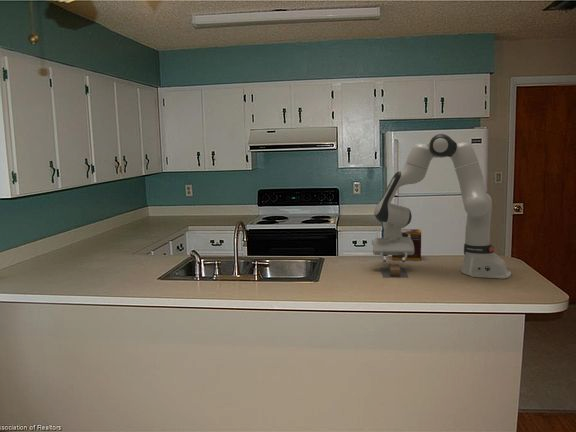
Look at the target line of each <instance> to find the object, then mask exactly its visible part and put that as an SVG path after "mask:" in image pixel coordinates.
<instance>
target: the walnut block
mask: <svg viewBox="0 0 576 432" xmlns="http://www.w3.org/2000/svg"><path fill="white" fill-rule="evenodd" d="M388 267H389V273H390V276H391V277H400V268H401V266H400V265H399V264H388Z"/></svg>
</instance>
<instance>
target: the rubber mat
mask: <svg viewBox="0 0 576 432" xmlns="http://www.w3.org/2000/svg"><path fill="white" fill-rule="evenodd" d="M380 271H381V275H382V276H381V277H382V279H383V278H384V279H385V278H386V279H387V278H388V279H389V278H391V279H394V278H395V279H397V278H398V279H409V276H408V275H409V274H408V273H407V271H406V268H405V267H400V277H391V276H390V273H389V266H387V267H385V266H384V267H380Z"/></svg>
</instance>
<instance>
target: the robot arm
mask: <svg viewBox="0 0 576 432" xmlns="http://www.w3.org/2000/svg"><path fill="white" fill-rule="evenodd" d="M447 157H449V158H450V160H451V161H452V164H453V167H454V170H455V174H456V176H457V181H458V183H459V188H460V194H461V198H462V203H463V207H464V210H465V213H467V214H466V223H465V239H464V241H465V243H463V256H464V257H463V263H462V267H461V270H460V272H461V273H462V274H464V275H467V276H469V277H471V278H472V277H473V278H487V279H488V278H489V279H504V280H505V279H508V278H510V277H511V276H512V272H511V270H508V269H507V266H506V262H505V260H504V259H502V258H501V257H500V256H499V255H498V254H496V253H495V246H494V245H492V244H491V243H490V241H491V240H490V239H491V223H492V220H491V219H492V210H493V209H492V208H493V200H492V197H491V196H490V194H489V193H487V191H486V185H485V181H484V176H483V173H482V169H481V166H480V162H479V159H478V156H477V154H476V151H475V150H474V148H473V146H472V144H471V143H469V142H465V141H462V142H455V140H453V138H451V137H450V136H449V135H447V134H444V133H439V134H435V135H434V136H433V137H431V139H430V141H429V143H416V144H414V145H413V147H412V148H411V150H410V151H409V153H408V155H407V158H406V161H405V163H404V166H403V167H402V169H400V170H399V171H397V172H395V174H394V175H393V176H392V178H391V180H390V181H389V184H388V185H387V187H386V189H385V191H384V193H383V195H382V196H381V198H380V200H379V202H378V203H377V204H376V207H375V208H374V212H373V213H374V217H375V219H376V220H377V221H378V222H381V223H382V228H383V237H376V238H373V239H372V240H371V244H372V254H373V255H374V256H380V258H381V260H382V262H383V263H386V262H387V258H386V257H385V256H392V255H404V257H402V260H401V261H402V263H405V262H406V261H407V260H406V258H407V255H413V254H414V244H413V241H412V240H411V236H410V234H407V233H403V232H401V229H405V228H406V227H407V226H408V225H409V224H410V223H411V222H412V211H411V210H410V208H408V207H406V206H401V205H399V204H393V203H391V202H392V201H393V199H394V196H395V195H396V193H397V191H398V190H399V188H400V187H403V186H406V185H408V186H409V185H412V184H413V185H414V184H418V183H420V182H422V181H423V180H424V179H425V177H426V175H427V172H428V169H429V167H430V163H431V161H432V160H433V159H434V158H447Z"/></svg>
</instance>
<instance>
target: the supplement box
mask: <svg viewBox="0 0 576 432" xmlns="http://www.w3.org/2000/svg"><path fill="white" fill-rule="evenodd" d="M401 232H403V233H407V234H410V236H411V240H412V241H413V244H414V254H413V255H407V258H406V261H408V260H412V261H414V262H418V261H419V262H420V261H421V260H422V231H421V229H420V228H419V229H418V228H417V229H411V228H410V229H409V228H406V229H405V228H401ZM402 257H404V255H391V261H402Z"/></svg>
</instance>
